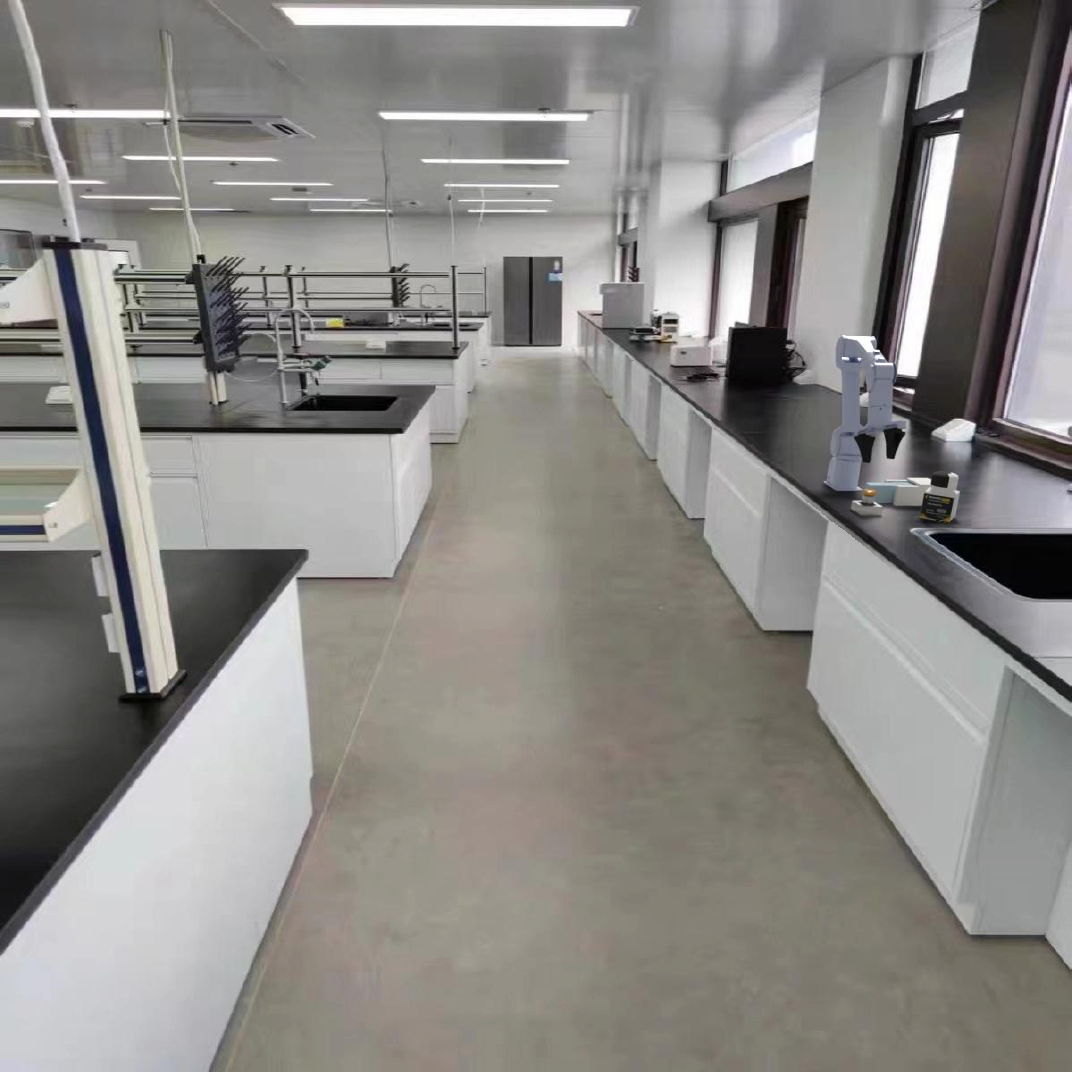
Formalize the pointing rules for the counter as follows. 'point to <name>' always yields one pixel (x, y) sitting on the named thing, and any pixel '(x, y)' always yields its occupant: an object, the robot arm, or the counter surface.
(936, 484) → the medicine bottle
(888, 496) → the cartridge
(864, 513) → the plunger collar
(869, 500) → the gold-topped knob
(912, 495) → the housing
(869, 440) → the robot arm
